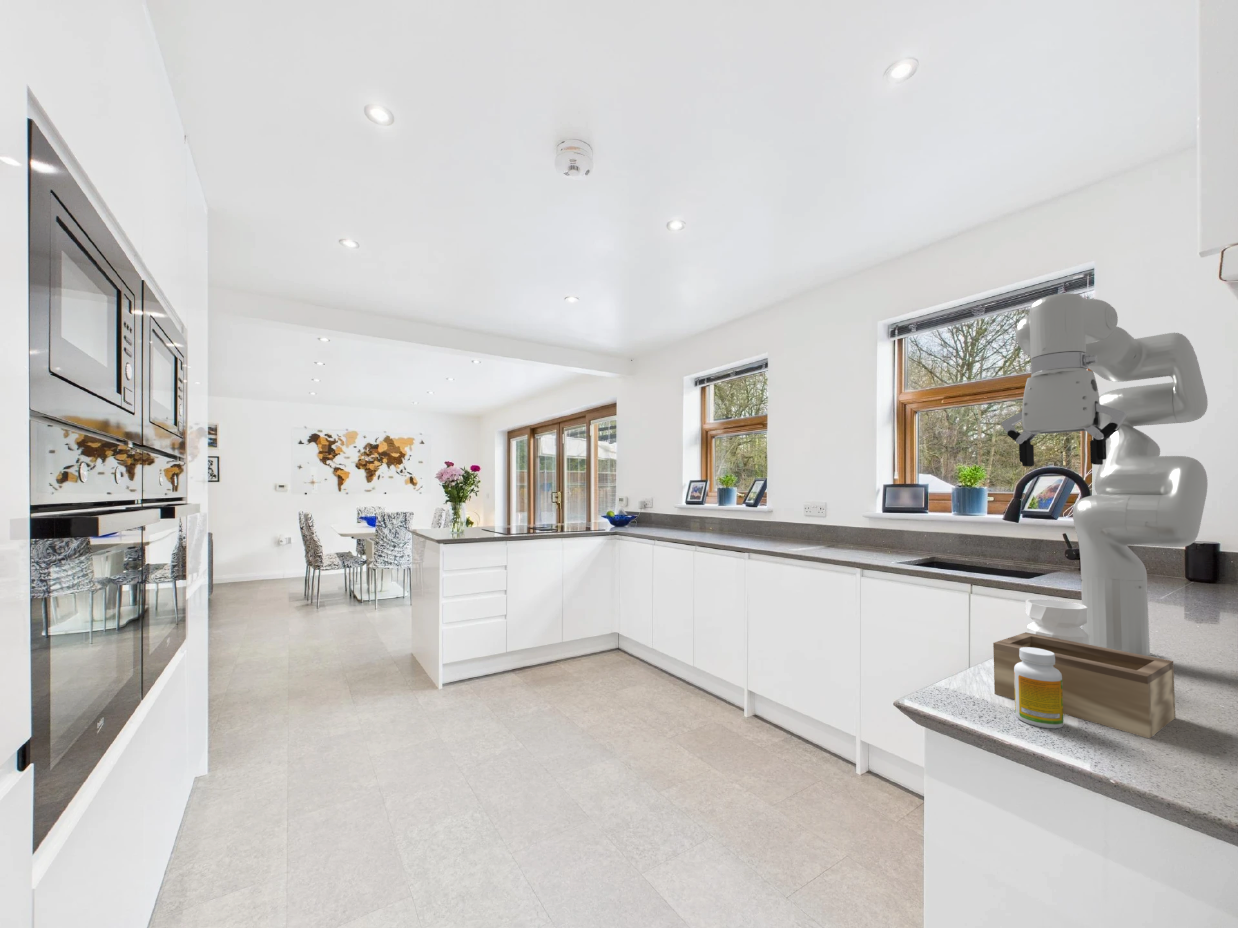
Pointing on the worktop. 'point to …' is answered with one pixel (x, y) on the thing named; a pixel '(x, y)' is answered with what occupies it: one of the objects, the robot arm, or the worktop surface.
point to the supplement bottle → (1038, 689)
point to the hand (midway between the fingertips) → (1061, 465)
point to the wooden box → (1098, 682)
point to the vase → (1057, 619)
